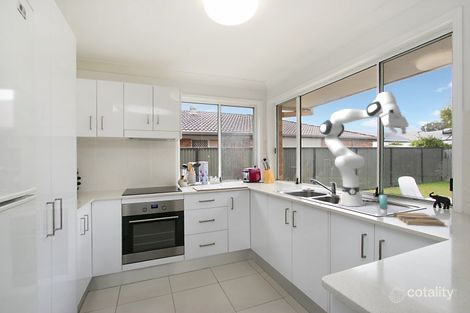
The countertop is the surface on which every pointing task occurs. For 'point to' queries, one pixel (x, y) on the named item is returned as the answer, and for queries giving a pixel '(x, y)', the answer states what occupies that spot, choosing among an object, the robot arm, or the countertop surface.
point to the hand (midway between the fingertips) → (399, 133)
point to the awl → (383, 205)
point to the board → (418, 219)
